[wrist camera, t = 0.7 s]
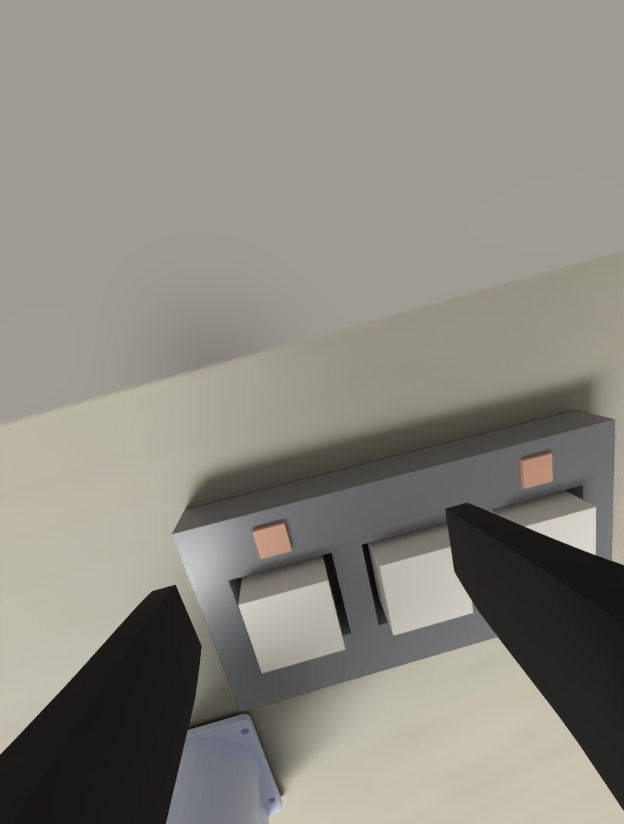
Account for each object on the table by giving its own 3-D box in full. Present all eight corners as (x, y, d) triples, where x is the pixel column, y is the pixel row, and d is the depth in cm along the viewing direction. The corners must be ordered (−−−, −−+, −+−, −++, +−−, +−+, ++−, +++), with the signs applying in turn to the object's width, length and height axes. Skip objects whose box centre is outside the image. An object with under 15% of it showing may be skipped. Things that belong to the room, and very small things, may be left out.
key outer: (557, 548, 19) (595, 577, 17) (489, 567, 19) (519, 599, 17) (555, 485, 18) (596, 507, 16) (483, 504, 18) (514, 529, 16)
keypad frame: (577, 577, 21) (613, 606, 19) (244, 672, 20) (240, 716, 18) (575, 409, 18) (619, 420, 16) (184, 509, 17) (170, 536, 15)
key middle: (449, 579, 19) (473, 612, 17) (379, 598, 19) (393, 635, 16) (440, 516, 18) (465, 542, 16) (366, 536, 18) (379, 566, 15)
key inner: (336, 610, 19) (345, 649, 16) (263, 630, 18) (261, 673, 16) (321, 548, 18) (327, 580, 15) (243, 569, 17) (238, 605, 15)
